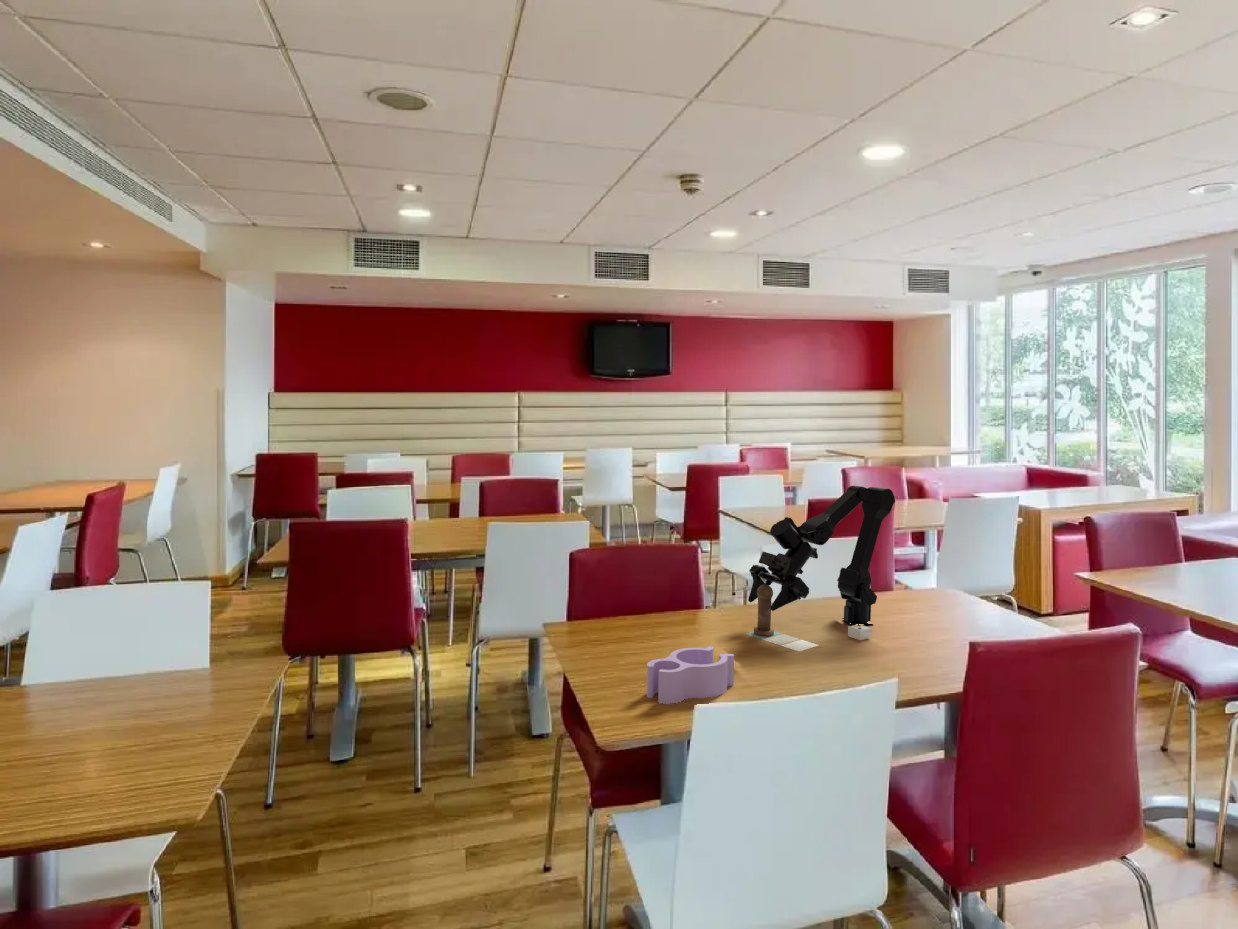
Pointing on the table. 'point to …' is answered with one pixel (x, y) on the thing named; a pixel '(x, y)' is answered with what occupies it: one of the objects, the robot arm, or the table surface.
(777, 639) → the board
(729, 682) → the clip
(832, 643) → the table surface
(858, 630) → the die
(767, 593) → the pawn
